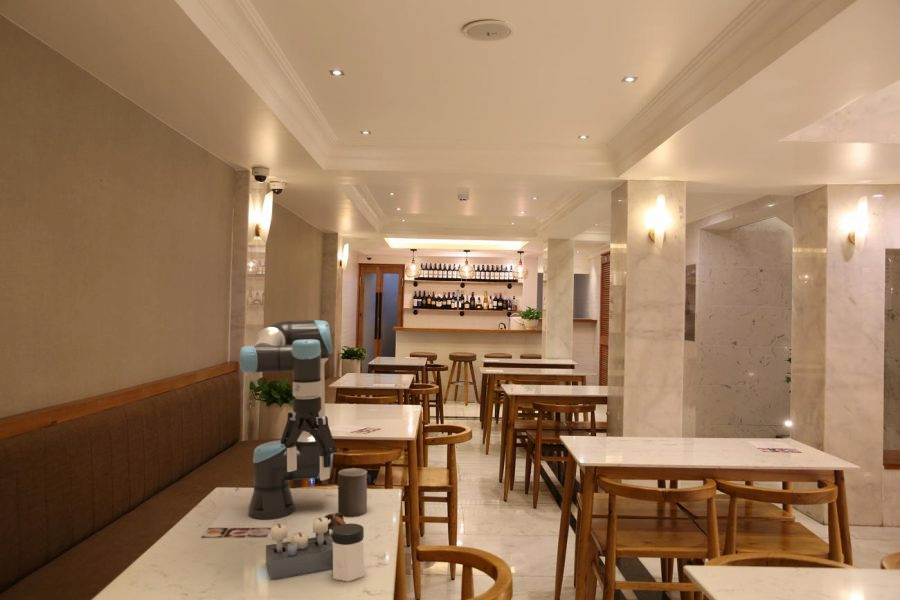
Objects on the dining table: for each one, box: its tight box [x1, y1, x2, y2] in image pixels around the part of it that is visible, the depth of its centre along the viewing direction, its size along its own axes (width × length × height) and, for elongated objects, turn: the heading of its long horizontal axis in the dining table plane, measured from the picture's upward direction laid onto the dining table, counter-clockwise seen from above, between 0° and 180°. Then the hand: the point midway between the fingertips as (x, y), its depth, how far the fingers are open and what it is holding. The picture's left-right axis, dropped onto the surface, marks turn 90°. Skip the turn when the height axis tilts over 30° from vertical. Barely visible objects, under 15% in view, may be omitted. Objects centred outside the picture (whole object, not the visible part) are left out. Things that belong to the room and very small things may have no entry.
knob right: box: [312, 516, 329, 546], centre depth 173 cm, size 4×4×8 cm
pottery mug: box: [315, 511, 346, 537], centre depth 190 cm, size 12×10×8 cm
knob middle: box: [292, 531, 309, 549], centre depth 170 cm, size 4×4×8 cm
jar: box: [331, 522, 365, 583], centre depth 164 cm, size 9×8×12 cm
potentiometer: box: [288, 536, 297, 556], centre depth 166 cm, size 2×2×4 cm
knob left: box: [271, 522, 288, 553], centre depth 168 cm, size 4×4×8 cm
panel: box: [265, 535, 333, 581], centre depth 170 cm, size 11×17×5 cm, turn 113°
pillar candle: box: [337, 467, 368, 518], centre depth 212 cm, size 10×10×15 cm
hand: (308, 475), depth 170 cm, fingers open, 13 cm apart
